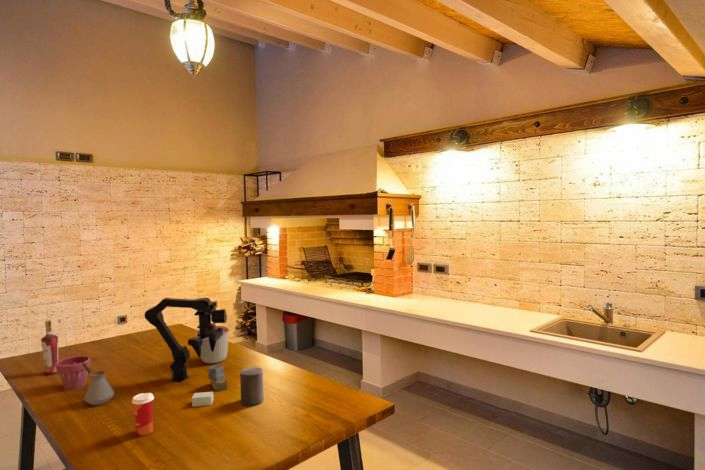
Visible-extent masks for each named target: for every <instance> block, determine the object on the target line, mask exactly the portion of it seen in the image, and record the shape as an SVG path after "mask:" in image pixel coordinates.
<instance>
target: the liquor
mask: <svg viewBox="0 0 705 470" xmlns="http://www.w3.org/2000/svg"><path fill="white" fill-rule="evenodd" d="M44 324H45V336H43V337H42V338H41V339H40V343H41V351H42V355H43V363H44V364H43V366H44V374H46V375H49V374H50V375H54V374H53V373H55V374H57V373H58V372H57V371H56V363H57V362H58V361H59V336H58V335H55V334H54V333H53V329H52V320H51V319H49V320H48V319H47V320H45V321H44ZM56 372H57V373H56Z"/></svg>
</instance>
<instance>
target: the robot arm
mask: <svg viewBox="0 0 705 470" xmlns="http://www.w3.org/2000/svg"><path fill="white" fill-rule="evenodd" d="M169 307H170V308H180V309H181V308H182V309H183V308H185V309H193V310H194V311H196V312H195V313H194V314H193V315H194V316H198V325H197V327H196V329H198V331H199V334H198V336H199V337H200V338H197V336H193V337H191V338H188V340H187V345H189V346H190V347H192V349H193V350H194V352H195V353H196V355H197V357H198V358H201V347H202V345H203V344H202V342H203V340H205V339H208V338H209V343H210V348H211V351H212V352H213V351H214V348H215V345H216V342H217V340H218V339H220V338H221V337H220V336H222V335H223V329H222V328H221V327H220V328H218V329H214V326H213V325H211V323H215V324H227V319H228V314H227V310H226V308H222V309H217V308H216V307H215V305H214V304H212V300H211V299H210V298H209V297H198V298H192V299H191V298H190V299H189V298H171V297H165V298H163V299H161V301H159V302H158V303H157V304H156V305H155V306H153V307H151V308H149V309H147V310H146V311H145V313H144V315H143V316H144V318H145V320H146V321H147V322H148V323H149V324H150V325H151V326H153V327H155V328H156V330H157V331H158V333H159V335H160V336H161V338H162V339H163V341H164V342H165V343H166V345H167V347H168V348H169V349H170V351H171V356H172V360H173V362H172V363H171V364H170V365H169V367H170V370H171V378H169V381H173V382H183V381H184V380H186V379H188V378H189V377H190V376H189V375H188V373H187V366H186V364H187V362H188V361H189V359H190V358H191V354H190V353H191V351H190V350H189V349H188V347H187V346H186V345H184V346H182V345H181V344H180V343H179V342H178V339H176V337H175V336H174V334H173V333H172V331H171V329H170V328H169V327H168V324H166V322H165V318H164V315H163V311H164V310H165V309H166V308H169Z"/></svg>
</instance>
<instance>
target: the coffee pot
mask: <svg viewBox="0 0 705 470" xmlns="http://www.w3.org/2000/svg"><path fill="white" fill-rule="evenodd" d="M82 364H83V365H84V366H83V367H85V369H86V370H87V371H88V374H89V377H90V378H91V380H90V382H89V385H88V388H87V390H86V393H85V395H84V401H85V402H86V403H87V404H89V405H90V406H101V405H105V404H106V403H108V402H110V400H111V399H112V398H113V397H114V394H115V391H114V389H113V388H112V386H111V385H110V383H109V381H108V380H107V378H106V374H107V371H106V370H99V371H94V372H92V371H91V369H90V367H89V368H88V367H87V366H86V363H82ZM80 366H81V365H80Z"/></svg>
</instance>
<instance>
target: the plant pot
mask: <svg viewBox="0 0 705 470" xmlns="http://www.w3.org/2000/svg"><path fill="white" fill-rule="evenodd" d="M82 363H86V366H87V367H88V368H89V369H90V366H91V363H92V362H91V357H90V356H87V355H77V356H71V357H66V358H62V359H60V360H58V362H57V363H56V371H57V373H58V374H59V377H60V380H61V383H62V386H63V389H64V390H67V391H68V390H69V391H70V390H71V391H72V390H76V389H80V388H82V387H84V386H86V384H87V379H88V374H89V372H88V371H87V370H86V369H85V367H83V366H84V365H83V364H82ZM80 365H81V366H80Z"/></svg>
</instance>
